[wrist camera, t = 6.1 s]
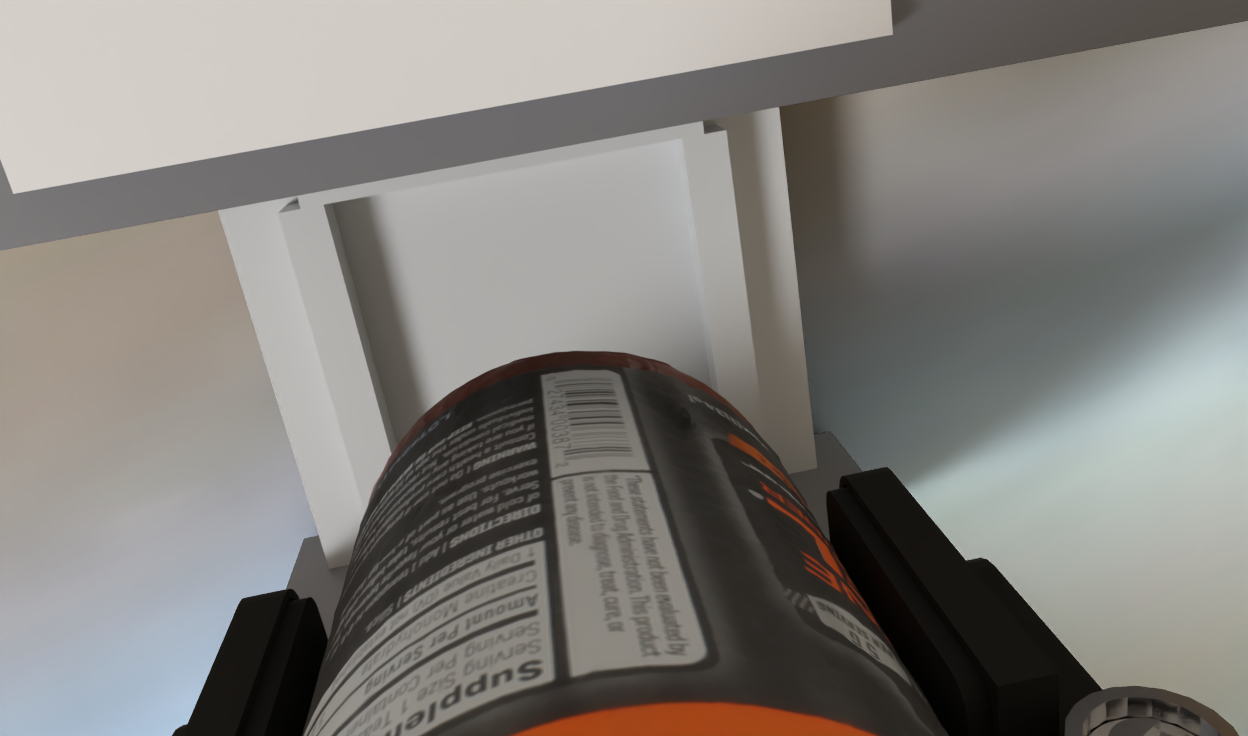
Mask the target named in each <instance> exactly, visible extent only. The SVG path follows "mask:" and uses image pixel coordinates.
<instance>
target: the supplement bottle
mask: <svg viewBox="0 0 1248 736" xmlns="http://www.w3.org/2000/svg"><path fill="white" fill-rule="evenodd" d="M302 736H949V735H948V733H947V731H946V730H945V729H944V728H943V726H942V724H941V723H940V721H939V719H938V718H937V716H936V714H935V712H934V710H933V709H932V707H931V705H930V703H929V701H928V700H927V698H926V696H925V694H924V692H923V691H922V689H921V687H920V686H919V685H918V683H917V682H916V681H915V679H914V678H913V676H912V675H911V674H910V672H909V671H908V670H907V668H906V667H905V665H904V664H903V663H902V661H901V660H900V658H899V656H898V654H897V652H896V650H895V648H894V647H893V645H892V644H891V642H890V641H889V639H888V637H887V636H886V634H885V633H884V631H883V629H882V628H881V626H880V625H879V623H878V621H877V620H876V618H875V617H874V615H873V614H872V612H871V610H870V609H869V607H868V605H867V603H866V602H865V600H864V599H863V597H862V595H861V594H860V592H859V590H858V589H857V587H856V586H855V584H854V582H853V581H852V579H851V578H850V576H849V575H848V573H847V570H846V569H845V567H844V566H843V564H842V562H841V561H840V559H839V557H838V555H837V553H836V551H835V549H834V546H833V545H832V544H831V543H830V541H829V540H828V539H827V538H826V536H825V535H824V533H823V532H822V530H821V529H820V527H819V525H818V523H817V521H816V520H815V518H814V516H813V514H812V513H811V511H810V510H809V509H808V507H807V503H806V500H805V499H804V497H803V495H802V494H801V492H800V491H799V490H798V488H797V487H796V485H795V484H794V482H793V481H792V479H791V478H790V476H789V475H788V472H787V471H786V469H785V468H784V466H783V465H782V463H781V460H780V458H779V456H778V455H777V454H776V453H775V452H774V450H773V449H772V448H771V447H770V446H769V445H768V444H767V443H766V442H765V441H764V439H763V438H762V437H761V436H760V435H759V434H758V433H757V431H756V430H755V429H754V427H753V425H752V424H751V423H750V422H749V421H748V420H747V419H746V418H745V417H744V416H743V415H742V414H741V413H740V412H739V411H738V410H737V409H736V408H735V407H734V406H733V405H732V404H730V403H729V402H728V401H727V400H726V399H725V398H723V397H722V396H721V395H719V394H718V393H717V392H715V391H714V390H713V389H711V388H710V387H709V386H707V385H706V384H704V383H702V382H701V381H699V380H697V379H695V378H693V377H692V376H690V375H687V374H685V373H683V372H681V371H679V370H677V369H675V368H673V367H672V366H670V365H669V364H667V363H664V362H661V361H658V360H655V359H650V358H645V357H641V356H637V355H633V354H628V353H624V352H609V351H569V352H553V353H549V354H543V355H538V356H531V357H527V358H522V359H518V360H515V361H512V362H510V363H508V364H505V365H502V366H499V367H497V368H494V369H491V370H489V371H487V372H485V373H483V374H481V375H480V376H478V377H476V378H474V379H472V380H470V381H468V382H467V383H465V384H464V385H462V386H460V387H459V388H457V389H455V390H454V391H452V392H450V393H449V394H448V395H447V396H445V397H444V398H443V399H442V400H440V401H439V402H438V403H437V404H435V405H434V406H433V407H432V408H430V409H429V410H428V411H427V412H426V413H425V414H424V415H423V416H421V417H420V418H419V420H418V421H417V422H416V423H415V424H414V425H413V427H412V428H411V429H410V430H409V432H408V433H407V434H406V435H405V436H404V437H403V439H402V440H401V441H400V442H399V444H398V445H397V447H396V449H395V450H394V452H393V453H392V454H391V456H390V457H389V459H388V461H387V463H386V465H385V467H384V470H383V472H382V473H381V475H380V477H379V478H378V480H377V481H376V483H375V485H374V487H373V490H372V493H371V495H370V498H369V503H368V506H367V509H366V511H365V514H364V516H363V519H362V521H361V524H360V528H359V532H358V535H357V538H356V541H355V544H354V549H353V553H352V557H351V561H350V564H349V567H348V570H347V574H346V577H345V581H344V585H343V589H342V593H341V596H340V599H339V602H338V605H337V608H336V610H335V613H334V619H333V624H332V629H331V633H330V636H329V639H328V643H327V647H326V651H325V654H324V658H323V661H322V664H321V667H320V671H319V675H318V679H317V683H316V687H315V691H314V694H313V698H312V702H311V705H310V709H309V712H308V716H307V720H306V723H305V726H304V729H303V733H302Z"/></svg>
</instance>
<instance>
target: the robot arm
mask: <svg viewBox="0 0 1248 736" xmlns="http://www.w3.org/2000/svg"><path fill="white" fill-rule="evenodd" d="M826 507H827V516H828V526H829V536H830V543H831V544H832V545H833V546H834V549H835V551H836V553H837V555H838V557H839V559H840V561H841V562H842V564H843V566H844V567H845V569H846V570H847V573H848V575H849V576H850V578H851V579H852V581H853V582H854V584H855V586H856V587H857V589H858V590H859V592H860V594H861V595H862V597H863V599H864V600H865V602H866V603H867V605H868V607H869V609H870V610H871V612H872V614H873V615H874V617H875V618H876V620H877V621H878V623H879V625H880V626H881V628H882V629H883V631H884V633H885V634H886V636H887V637H888V639H889V641H890V642H891V644H892V645H893V647H894V648H895V650H896V652H897V654H898V656H899V658H900V660H901V661H902V663H903V664H904V665H905V667H906V668H907V670H908V671H909V672H910V674H911V675H912V676H913V678H914V679H915V681H916V682H917V683H918V685H919V686H920V687H921V689H922V691H923V692H924V694H925V696H926V698H927V700H928V701H929V703H930V705H931V707H932V709H933V710H934V712H935V714H936V716H937V718H938V719H939V721H940V723H941V724H942V726H943V728H944V729H945V730H946V731H947V733H948V735H949V736H1239V735H1238V734H1237V732H1236V730H1235V729H1234V727H1233V726H1231V725H1230V724H1229V723H1228V722H1227V721H1226V720H1224V719H1223V718H1222V717H1221V716H1220V715H1219V714H1217V713H1216V712H1215V711H1214V710H1212V709H1210V708H1208V707H1206V706H1204V705H1202V704H1201V703H1199V702H1197V701H1195V700H1193V699H1191V698H1189V697H1186V696H1182V695H1179V694H1176V693H1173V692H1170V691H1167V690H1163V689H1156V688H1148V687H1141V686H1128V687H1111V688H1108V689H1105V690H1102V689H1101V688H1100V686H1099V685H1098V684H1097V683H1096V682H1095V681H1094V679H1093V678H1092V677H1091V676H1090V675H1089V674H1088V673H1087V671H1086V670H1085V669H1084V668H1083V667H1082V666H1081V665H1080V663H1079V662H1078V661H1077V660H1076V659H1075V658H1074V657H1073V655H1072V654H1071V653H1070V652H1069V651H1068V650H1067V648H1066V647H1065V646H1064V645H1063V644H1062V643H1061V642H1060V640H1059V639H1058V638H1057V637H1056V636H1055V635H1054V634H1053V632H1052V631H1051V630H1050V629H1049V628H1048V627H1047V626H1046V624H1045V623H1044V622H1043V621H1042V620H1041V619H1040V617H1039V616H1038V615H1037V614H1036V613H1035V612H1034V611H1033V609H1032V608H1031V607H1030V606H1029V605H1028V604H1027V603H1026V601H1025V600H1024V599H1023V598H1022V597H1021V596H1020V595H1019V593H1018V592H1017V591H1016V590H1015V589H1014V588H1013V586H1012V585H1011V584H1010V583H1009V582H1008V581H1007V580H1006V578H1005V577H1004V576H1003V575H1002V574H1001V573H1000V572H999V570H998V569H997V568H996V567H995V566H994V565H993V564H992V563H991V562H989V561H988V560H987V559H983V558H977V559H972V560H968V561H966V560H965V559H964V558H963V557H962V555H961V554H960V553H959V552H958V551H957V549H956V548H955V547H954V546H953V545H952V543H951V542H950V541H949V540H948V539H947V537H946V536H945V535H944V534H943V533H942V531H941V530H940V529H939V528H938V526H937V525H936V524H935V523H934V522H933V520H932V519H931V518H930V517H929V516H928V514H927V513H926V512H925V511H924V510H923V508H922V507H921V506H920V505H919V504H918V502H917V501H916V500H915V499H914V497H913V496H912V495H911V494H910V493H909V491H908V490H907V489H906V488H905V487H904V485H903V484H902V483H901V482H900V481H899V479H898V478H897V477H896V476H895V475H894V473H893V472H892V471H891V470H890V469H889V468H888V467H884V468H879V469H874V470H869V471H864V472H859V473H854V474H850V475H845V476H841V478H840V483H839V489H835V490H831V491H828V492H827V493H826ZM327 643H328V637H327V634H326V631H325V628H324V625H323V622H322V619H321V616H320V613H319V610H318V607H317V604H316V602H315V601H314V599H313V598H311V597H308V598H303V599H300V598H299V596H298V595H297V593H296V592H295V590H293V589H286V590H281V591H276V592H271V593H266V594H261V595H257V596H252V597H247V598H243V599H242V600H241V601H240V603H239V604H238V607H237V609H236V612H235V614H234V616H233V619H232V621H231V623H230V626H229V628H228V630H227V633H226V635H225V637H224V640H223V642H222V644H221V647H220V649H219V652H218V654H217V656H216V659H215V661H214V663H213V666H212V668H211V670H210V673H209V675H208V677H207V680H206V682H205V685H204V687H203V689H202V692H201V694H200V696H199V699H198V701H197V703H196V706H195V708H194V710H193V713H192V715H191V717H190V720H189V722H188V724H187V725H183V726H181V727H179V728H178V729H176V730H175V732H174V733H173V735H172V736H302V733H303V729H304V726H305V723H306V720H307V716H308V712H309V709H310V705H311V702H312V698H313V694H314V691H315V687H316V683H317V679H318V675H319V671H320V667H321V664H322V661H323V658H324V654H325V651H326V647H327Z"/></svg>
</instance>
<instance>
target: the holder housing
mask: <svg viewBox="0 0 1248 736" xmlns="http://www.w3.org/2000/svg"><path fill="white" fill-rule="evenodd" d="M1243 21H1248V0H0V250H6V249H11V248H17V247H22V246H27V245H33V244H38V243H44V242H49V241H55V240H60V239H65V238H71V237H76V236H82V235H87V234H93V233H98V232H103V231H109V230H114V229H120V228H125V227H131V226H136V225H141V224H147V223H152V222H158V221H163V220H169V219H174V218H179V217H185V216H190V215H196V214H201V213H207V212H212V211H217V210H223V209H228V208H234V207H239V206H245V205H250V204H255V203H261V202H266V201H272V200H277V199H283V198H288V197H293V196H299V195H304V194H310V193H315V192H321V191H326V190H331V189H337V188H342V187H348V186H353V185H359V184H364V183H369V182H375V181H380V180H386V179H391V178H397V177H402V176H407V175H413V174H418V173H424V172H429V171H434V170H440V169H445V168H451V167H456V166H462V165H467V164H472V163H478V162H483V161H489V160H494V159H500V158H505V157H510V156H516V155H521V154H527V153H532V152H538V151H543V150H548V149H554V148H559V147H565V146H570V145H576V144H581V143H586V142H592V141H597V140H603V139H608V138H614V137H619V136H624V135H630V134H635V133H641V132H646V131H652V130H657V129H662V128H668V127H673V126H679V125H684V124H690V123H695V122H700V121H706V120H711V119H717V118H722V117H728V116H733V115H738V114H744V113H749V112H755V111H760V110H766V109H771V108H776V107H782V106H787V105H793V104H798V103H804V102H809V101H814V100H820V99H825V98H831V97H836V96H841V95H847V94H852V93H858V92H863V91H869V90H874V89H879V88H885V87H890V86H896V85H901V84H907V83H912V82H917V81H923V80H928V79H934V78H939V77H945V76H950V75H955V74H961V73H966V72H972V71H977V70H983V69H988V68H993V67H999V66H1004V65H1010V64H1015V63H1021V62H1026V61H1031V60H1037V59H1042V58H1048V57H1053V56H1059V55H1064V54H1069V53H1075V52H1080V51H1086V50H1091V49H1097V48H1102V47H1107V46H1113V45H1118V44H1124V43H1129V42H1135V41H1140V40H1145V39H1151V38H1156V37H1162V36H1167V35H1173V34H1178V33H1183V32H1189V31H1194V30H1200V29H1205V28H1211V27H1216V26H1221V25H1227V24H1232V23H1238V22H1243Z"/></svg>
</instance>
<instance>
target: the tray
mask: <svg viewBox="0 0 1248 736" xmlns="http://www.w3.org/2000/svg"><path fill="white" fill-rule="evenodd" d="M218 213H219V216H220V219H221V222H222V225H223V229H224V232H225V235H226V238H227V241H228V245H229V248H230V251H231V254H232V258H233V261H234V264H235V267H236V270H237V274H238V277H239V280H240V283H241V287H242V290H243V293H244V296H245V299H246V303H247V306H248V309H249V312H250V316H251V319H252V322H253V325H254V328H255V332H256V335H257V338H258V341H259V345H260V348H261V351H262V354H263V357H264V361H265V364H266V367H267V370H268V374H269V377H270V380H271V383H272V386H273V390H274V393H275V396H276V399H277V403H278V406H279V409H280V412H281V415H282V419H283V422H284V425H285V428H286V432H287V435H288V438H289V441H290V444H291V448H292V451H293V454H294V457H295V461H296V464H297V467H298V470H299V473H300V477H301V480H302V483H303V486H304V490H305V493H306V496H307V499H308V502H309V506H310V509H311V512H312V515H313V519H314V522H315V525H316V528H317V531H318V535H319V536H315V537H310V538H305V539H304V540H303V543H302V546H301V549H300V552H299V554H298V557H297V560H296V563H295V566H294V568H293V571H292V574H291V577H290V580H289V582H288V585H287V588H286V589H293V590H295V592H296V593H297V595H298V596H299V598H300V599H303V598H308V597H311V598H313V599H314V601H315V602H316V604H317V607H318V610H319V613H320V616H321V619H322V622H323V625H324V628H325V631H326V634H327V637H328V639H329V636H330V633H331V629H332V624H333V619H334V613H335V610H336V608H337V605H338V602H339V599H340V596H341V593H342V589H343V585H344V581H345V577H346V574H347V570H348V567H349V564H350V561H351V557H352V553H353V549H354V544H355V541H356V538H357V535H358V532H359V528H360V524H361V521H362V519H363V516H364V514H365V511H366V509H367V506H368V503H369V498H370V495H371V493H372V490H373V487H374V485H375V483H376V481H377V480H378V478H379V477H380V475H381V473H382V472H383V470H384V467H385V465H386V463H387V461H388V459H389V457H390V456H391V454H392V453H393V452H394V450H395V449H396V447H397V445H398V444H399V442H400V441H401V440H402V439H403V437H404V436H405V435H406V434H407V433H408V432H409V430H410V429H411V428H412V427H413V425H414V424H415V423H416V422H417V421H418V420H419V418H420V417H421V416H423V415H424V414H425V413H426V412H427V411H428V410H429V409H430V408H432V407H433V406H434V405H435V404H437V403H438V402H439V401H440V400H442V399H443V398H444V397H445V396H447V395H448V394H449V393H450V392H452V391H454V390H455V389H457V388H459V387H460V386H462V385H464V384H465V383H467V382H468V381H470V380H472V379H474V378H476V377H478V376H480V375H481V374H483V373H485V372H487V371H489V370H491V369H494V368H497V367H499V366H502V365H505V364H508V363H510V362H512V361H515V360H518V359H522V358H527V357H531V356H538V355H543V354H549V353H553V352H569V351H609V352H624V353H628V354H633V355H637V356H641V357H645V358H650V359H655V360H658V361H661V362H664V363H667V364H669V365H670V366H672V367H673V368H675V369H677V370H679V371H681V372H683V373H685V374H687V375H690V376H692V377H693V378H695V379H697V380H699V381H701V382H702V383H704V384H706V385H707V386H709V387H710V388H711V389H713V390H714V391H715V392H717V393H718V394H719V395H721V396H722V397H723V398H725V399H726V400H727V401H728V402H729V403H730V404H732V405H733V406H734V407H735V408H736V409H737V410H738V411H739V412H740V413H741V414H742V415H743V416H744V417H745V418H746V419H747V420H748V421H749V422H750V423H751V424H752V425H753V427H754V429H755V430H756V431H757V433H758V434H759V435H760V436H761V437H762V438H763V439H764V441H765V442H766V443H767V444H768V445H769V446H770V447H771V448H772V449H773V450H774V452H775V453H776V454H777V455H778V456H779V458H780V460H781V463H782V465H783V466H784V468H785V469H786V471H787V472H788V475H789V476H790V478H791V479H792V481H793V482H794V484H795V485H796V487H797V488H798V490H799V491H800V492H801V494H802V495H803V497H804V499H805V500H806V503H807V507H808V509H809V510H810V511H811V513H812V514H813V516H814V518H815V520H816V521H817V523H818V525H819V527H820V529H821V530H822V532H823V533H824V535H825V536H826V538H827V539H828V540H829V541H830V536H829V526H828V516H827V507H826V493H827V492H828V491H831V490H835V489H839V483H840V478H841V476H845V475H850V474H854V473H859V472H862V470H861V469H860V468H859V467H858V465H857V464H856V463H855V462H854V460H853V459H852V458H851V457H850V455H849V454H848V453H847V452H846V450H845V449H844V448H843V447H842V445H841V444H840V443H839V442H838V440H837V439H836V438H835V437H834V435H833V434H832V433H831V432H830V431H828V432H824V433H819V434H814V432H813V422H812V413H811V404H810V394H809V385H808V375H807V366H806V356H805V347H804V338H803V328H802V319H801V309H800V300H799V291H798V281H797V272H796V262H795V253H794V244H793V234H792V225H791V215H790V206H789V197H788V187H787V178H786V168H785V159H784V150H783V140H782V131H781V121H780V112H779V107H776V108H771V109H766V110H760V111H755V112H749V113H744V114H738V115H733V116H728V117H722V118H717V119H711V120H706V121H700V122H695V123H690V124H684V125H679V126H673V127H668V128H662V129H657V130H652V131H646V132H641V133H635V134H630V135H624V136H619V137H614V138H608V139H603V140H597V141H592V142H586V143H581V144H576V145H570V146H565V147H559V148H554V149H548V150H543V151H538V152H532V153H527V154H521V155H516V156H510V157H505V158H500V159H494V160H489V161H483V162H478V163H472V164H467V165H462V166H456V167H451V168H445V169H440V170H434V171H429V172H424V173H418V174H413V175H407V176H402V177H397V178H391V179H386V180H380V181H375V182H369V183H364V184H359V185H353V186H348V187H342V188H337V189H331V190H326V191H321V192H315V193H310V194H304V195H299V196H293V197H288V198H283V199H277V200H272V201H266V202H261V203H255V204H250V205H245V206H239V207H234V208H228V209H223V210H218Z"/></svg>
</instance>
